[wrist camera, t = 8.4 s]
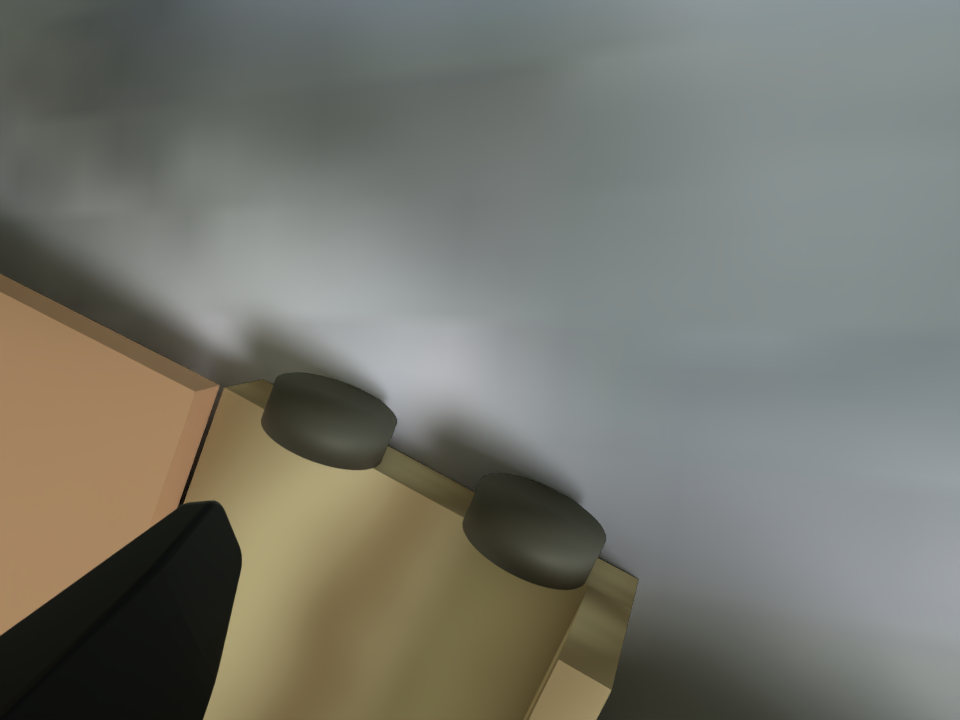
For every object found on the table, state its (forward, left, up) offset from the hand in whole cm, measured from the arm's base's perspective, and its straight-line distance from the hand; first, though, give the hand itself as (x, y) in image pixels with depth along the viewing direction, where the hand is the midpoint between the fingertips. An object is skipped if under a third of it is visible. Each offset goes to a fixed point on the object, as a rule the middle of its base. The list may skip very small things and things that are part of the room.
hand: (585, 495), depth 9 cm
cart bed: (-9, +10, -12) cm, 18 cm away
